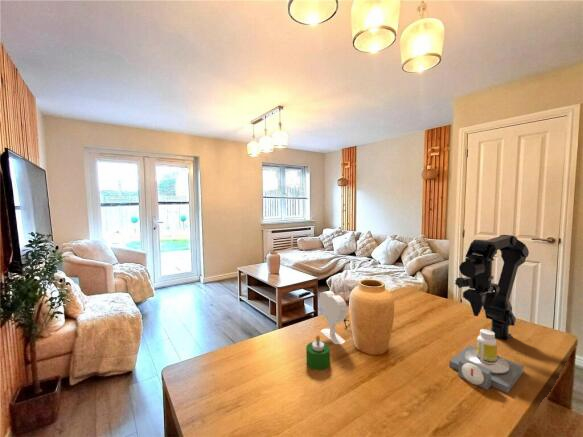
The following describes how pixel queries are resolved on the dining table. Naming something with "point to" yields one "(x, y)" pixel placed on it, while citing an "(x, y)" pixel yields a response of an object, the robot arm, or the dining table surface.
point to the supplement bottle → (487, 347)
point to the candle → (318, 354)
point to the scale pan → (496, 368)
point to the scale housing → (485, 372)
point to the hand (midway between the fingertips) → (480, 312)
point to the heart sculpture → (333, 314)
